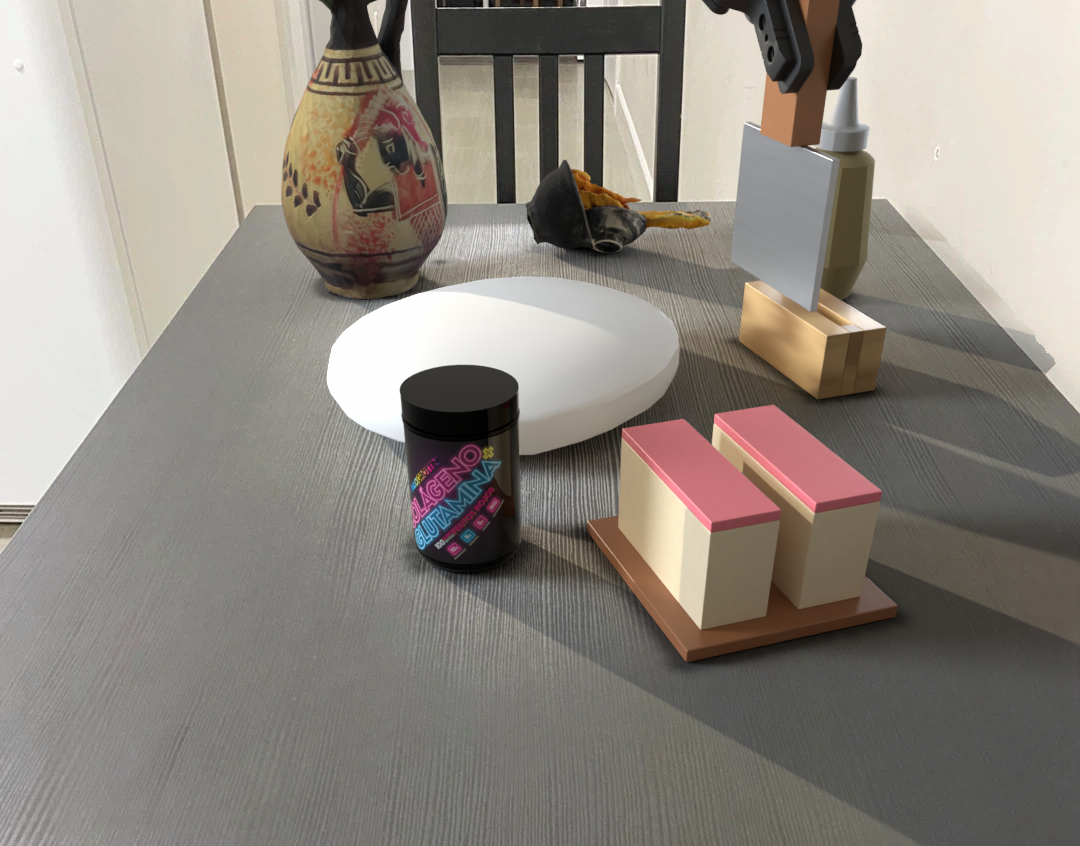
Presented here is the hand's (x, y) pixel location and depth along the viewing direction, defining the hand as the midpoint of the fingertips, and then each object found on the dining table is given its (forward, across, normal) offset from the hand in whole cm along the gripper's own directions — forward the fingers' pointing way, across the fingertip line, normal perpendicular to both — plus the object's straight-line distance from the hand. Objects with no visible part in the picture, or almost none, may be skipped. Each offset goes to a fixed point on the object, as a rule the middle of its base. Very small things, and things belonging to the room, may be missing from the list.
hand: (820, 79), depth 50 cm
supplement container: (+13, -16, +23) cm, 31 cm away
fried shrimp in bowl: (-25, +15, +62) cm, 68 cm away
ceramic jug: (-24, -10, +60) cm, 66 cm away
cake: (+19, -2, +17) cm, 26 cm away
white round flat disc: (-2, -7, +39) cm, 39 cm away
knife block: (-1, +18, +37) cm, 41 cm away
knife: (+6, 0, +8) cm, 10 cm away
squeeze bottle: (-11, +28, +48) cm, 56 cm away
